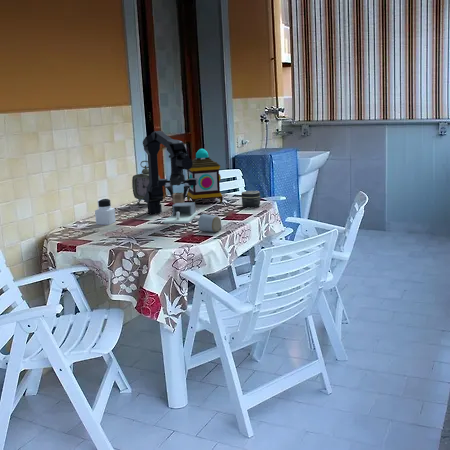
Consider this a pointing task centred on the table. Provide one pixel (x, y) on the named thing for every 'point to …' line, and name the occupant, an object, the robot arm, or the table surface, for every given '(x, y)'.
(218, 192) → the decorative lantern
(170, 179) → the robot arm
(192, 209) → the cover
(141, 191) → the tabletop clock
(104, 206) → the medicine bottle
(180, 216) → the board
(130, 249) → the table surface
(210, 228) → the ceramic mug
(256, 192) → the jar
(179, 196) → the block
